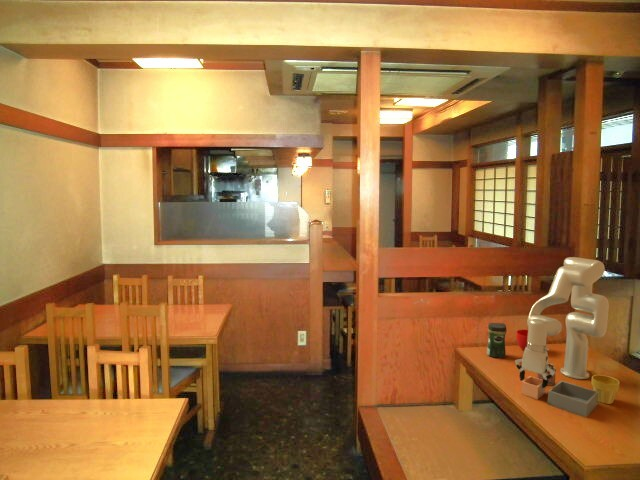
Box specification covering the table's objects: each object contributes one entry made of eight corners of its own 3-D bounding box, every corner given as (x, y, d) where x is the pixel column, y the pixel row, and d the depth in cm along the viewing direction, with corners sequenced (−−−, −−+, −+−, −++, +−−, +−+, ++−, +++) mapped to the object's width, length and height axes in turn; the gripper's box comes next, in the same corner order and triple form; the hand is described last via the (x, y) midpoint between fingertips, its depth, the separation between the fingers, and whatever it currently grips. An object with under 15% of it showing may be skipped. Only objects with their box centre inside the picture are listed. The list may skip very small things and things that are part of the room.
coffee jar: (503, 353, 247) (504, 321, 245) (506, 358, 239) (508, 325, 237) (485, 352, 248) (486, 320, 246) (488, 357, 241) (490, 325, 238)
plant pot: (591, 392, 201) (593, 372, 199) (619, 399, 194) (621, 378, 193) (588, 401, 193) (590, 380, 192) (616, 408, 186) (618, 387, 185)
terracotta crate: (529, 388, 205) (530, 375, 204) (545, 393, 200) (546, 380, 199) (521, 394, 199) (521, 381, 198) (537, 399, 194) (538, 386, 193)
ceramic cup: (551, 354, 245) (553, 337, 244) (521, 354, 246) (522, 337, 244) (540, 346, 258) (541, 329, 257) (511, 345, 258) (512, 329, 257)
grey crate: (560, 392, 200) (561, 380, 199) (597, 405, 189) (598, 392, 188) (547, 403, 190) (548, 390, 189) (586, 417, 179) (587, 403, 178)
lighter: (554, 382, 211) (555, 362, 209) (555, 385, 207) (557, 365, 206) (535, 380, 213) (537, 360, 212) (536, 383, 210) (538, 363, 209)
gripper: (559, 350, 193) (556, 387, 194) (520, 340, 205) (517, 375, 207) (553, 354, 187) (550, 392, 189) (513, 343, 200) (510, 379, 202)
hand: (533, 383), depth 198 cm, fingers open, 9 cm apart
